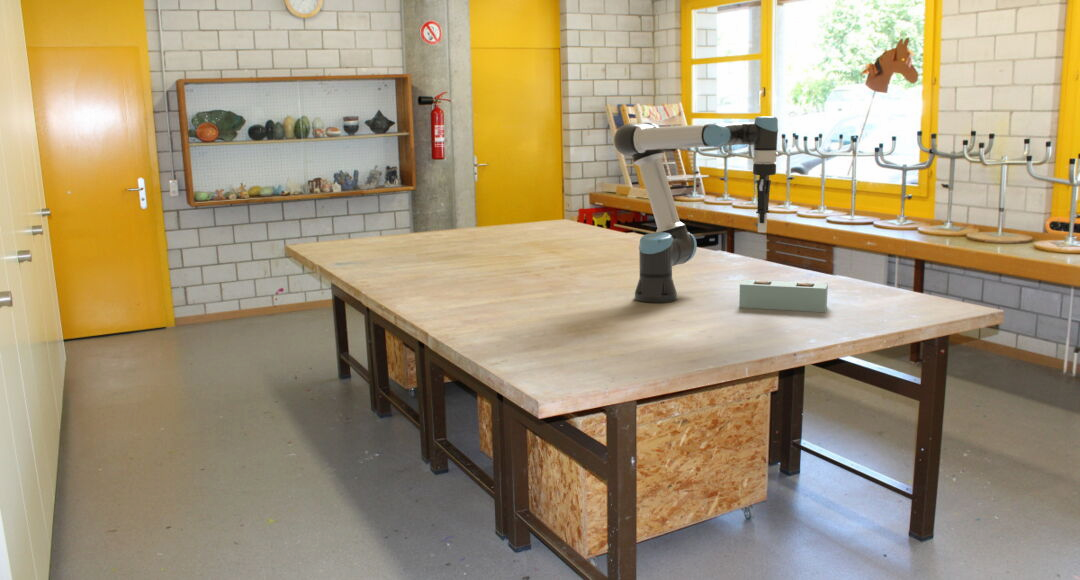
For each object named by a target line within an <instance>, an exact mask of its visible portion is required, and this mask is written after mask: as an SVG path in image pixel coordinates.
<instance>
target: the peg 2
mask: <svg viewBox="0 0 1080 580" xmlns="http://www.w3.org/2000/svg"><path fill="white" fill-rule="evenodd" d="M811 283H812V282H806V283H798V286H802V287H812V284H811Z"/></svg>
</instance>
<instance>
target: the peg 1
mask: <svg viewBox="0 0 1080 580" xmlns="http://www.w3.org/2000/svg"><path fill="white" fill-rule="evenodd" d="M768 281H769V280H764V281H756V284H761V285H770V282H768Z"/></svg>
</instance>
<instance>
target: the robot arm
mask: <svg viewBox="0 0 1080 580" xmlns="http://www.w3.org/2000/svg"><path fill="white" fill-rule="evenodd" d="M778 121H779V120H778V117H776V116H770V115H768V116H755V119H754V121H752V122H745V121H744V122H741V121H739V122H738V121H728V122H717V123H709V124H708V123H707V124H706V123H705V124H690V125H676V126H674V125H673V126H661V127H660V126H659V125H657V124H655V123H653V122H652V123H651V122H639V123H627V124H623V125H621V126H620V127H619V128H618V129H617V130H616V132H615V134H614V138H613V143H614V147H615V149H616V150H617V151H618V152H619V153H620V155H623V156H627V157H628V156H629V157H632V160H633V161H632V162H633V164H634V165H636V166H637V167H639V169H640V174H641V177H642V180H643V183H644V187H645V191H646V194H647V197H648V201H649V204H650V206H651V207H650V208H651V210H652V214H653V218H654V221H655V224H656V227H657V229H656V231H655V232H650V233H646V234H644V235H642V236H641V237H640V239H639V246H638V250H639V279H638V281H637V284H636V285H637V286H636V288H635V289H634V290H635V291H634V300H636V301H638V302H642V303H651V304H652V303H653V304H654V303H655V304H656V303H657V304H659V303H660V304H661V303H662V304H663V303H670V302H674V301H677V298H678V292H677V289H676V286H675V283H674V279H673V267H674V266H677V265H678V266H679V265H682V264H685V263H688V262H689V261H691V260H692V259H693V258H694V256H695V255H696V252H697V246H698V245H697V243H698V242H697V239H696V237H695V235H694V234H692V233H690V232H689V231H688V229H687V226H686V224H685V223H683V222H682V221H680V217H679V213H678V211H677V207H676V206H677V205H676V203H675V200H674V197H673V193H672V191H671V190H672V189H671V186H670V184H669V183H670V182H669V179H668V177H667V173H666V170H665V167H664V163H663V157H664V155H665V152H664V150H668V149H669V150H670V149H671V150H672V149H674V150H675V149H688V148H689V149H691V148H707V147H709V148H710V147H711V148H712V147H714V148H720V147H724V146H726V147H727V146H738V145H741V146H742V145H745V146H747V145H750V146H753V162H754V163H753V167H752V174H753V175H754V176H755V175H756V176H759V177H758V180H757V183H756V185H757V186H756V188H757V189H756V191H757V192H756V193H757V209H756V210H757V211H756V212H755V213H756V214H757V215H758V216H757V233H764V234H765V233H767V228H768V227H767V225H768V224H767V223H768V214H770V210H769V205H770V204H769V203H770V201H769V200H770V191H771V190H770V189H771V185H772V183H771V182H772V180H771V179H770V176H774V175H776V174H777V164H776V162H777V157H778V156H779V153H778V152H777V150H778V148H777V147H778V132H779V125H778V123H779V122H778Z"/></svg>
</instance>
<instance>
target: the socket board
mask: <svg viewBox="0 0 1080 580" xmlns="http://www.w3.org/2000/svg"><path fill="white" fill-rule="evenodd" d="M756 281H765V279H764V280H763V279H762V280H760V279H759V280H758V279H743V280H742V281H741V282H740V283H739V302H738V304H739V308H743V309H745V308H746V309H763V310H775V311H776V310H779V311H781V310H782V311H797V312H815V313H826V311H827V307H828V290H829V289H828V287H829V286H828V285H829V283H823V282H810V283H811V284H812V287H802V286H798V283H807V282H805V281H802V282H801V281H783V280H781V281H780V280H767V281H768V282H770V285H761V284H756Z"/></svg>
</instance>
